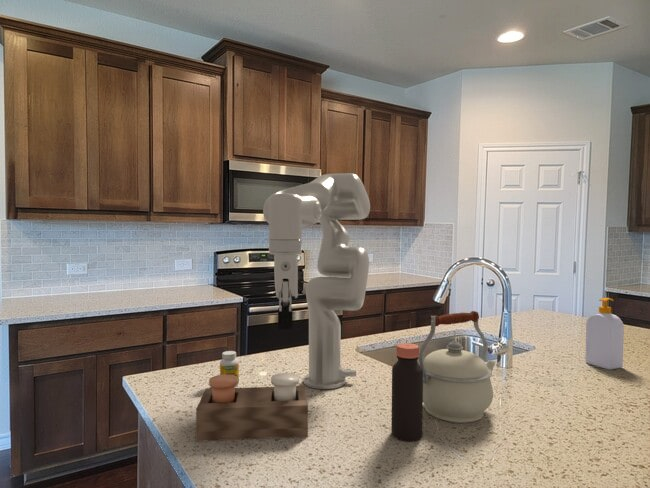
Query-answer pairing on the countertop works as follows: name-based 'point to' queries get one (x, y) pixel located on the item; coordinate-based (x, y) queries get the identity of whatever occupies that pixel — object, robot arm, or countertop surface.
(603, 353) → the soap bottle
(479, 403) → the kettle
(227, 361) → the supplement bottle
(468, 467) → the countertop surface
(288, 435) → the wooden shaker caddy
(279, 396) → the cream button
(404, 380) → the vinegar
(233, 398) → the orange-brown round piece
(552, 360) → the countertop surface
